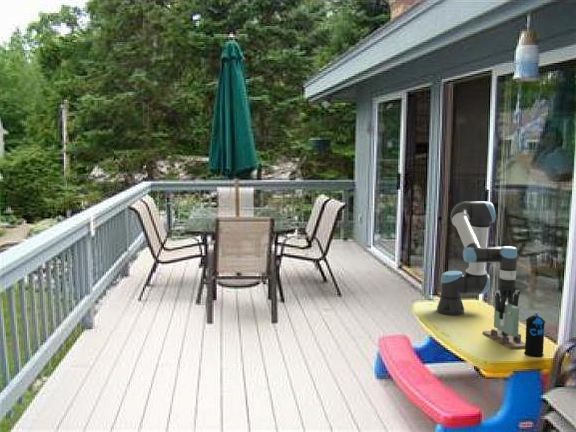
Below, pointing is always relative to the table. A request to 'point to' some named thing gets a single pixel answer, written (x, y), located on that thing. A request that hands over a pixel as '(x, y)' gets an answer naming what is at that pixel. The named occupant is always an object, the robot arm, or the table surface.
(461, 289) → the robot arm
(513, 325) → the door
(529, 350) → the aerosol can
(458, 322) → the table surface
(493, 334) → the hinge board
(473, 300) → the table surface
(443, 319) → the table surface
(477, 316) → the table surface
